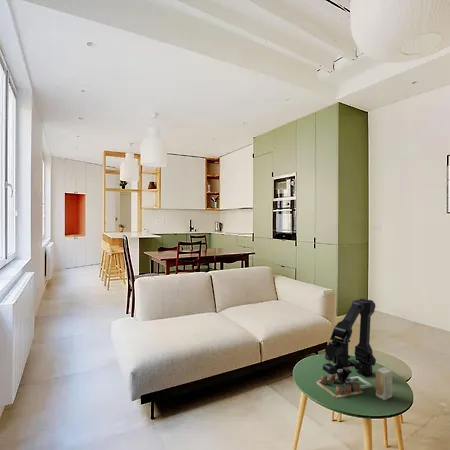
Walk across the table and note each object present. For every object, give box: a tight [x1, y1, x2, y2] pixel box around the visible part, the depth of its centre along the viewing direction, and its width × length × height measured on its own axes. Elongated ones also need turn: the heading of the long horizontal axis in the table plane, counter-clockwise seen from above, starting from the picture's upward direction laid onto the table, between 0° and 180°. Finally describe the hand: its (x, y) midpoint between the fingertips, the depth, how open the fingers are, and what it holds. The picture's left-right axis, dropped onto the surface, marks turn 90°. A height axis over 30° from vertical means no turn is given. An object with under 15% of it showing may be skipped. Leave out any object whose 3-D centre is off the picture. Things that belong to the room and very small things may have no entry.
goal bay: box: [349, 375, 373, 390], centre depth 149 cm, size 7×9×1 cm
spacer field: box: [315, 374, 364, 399], centre depth 145 cm, size 16×15×4 cm
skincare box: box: [375, 366, 393, 401], centre depth 137 cm, size 6×4×12 cm
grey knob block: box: [342, 376, 356, 389], centre depth 146 cm, size 4×4×3 cm
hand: (341, 384), depth 145 cm, fingers closed
